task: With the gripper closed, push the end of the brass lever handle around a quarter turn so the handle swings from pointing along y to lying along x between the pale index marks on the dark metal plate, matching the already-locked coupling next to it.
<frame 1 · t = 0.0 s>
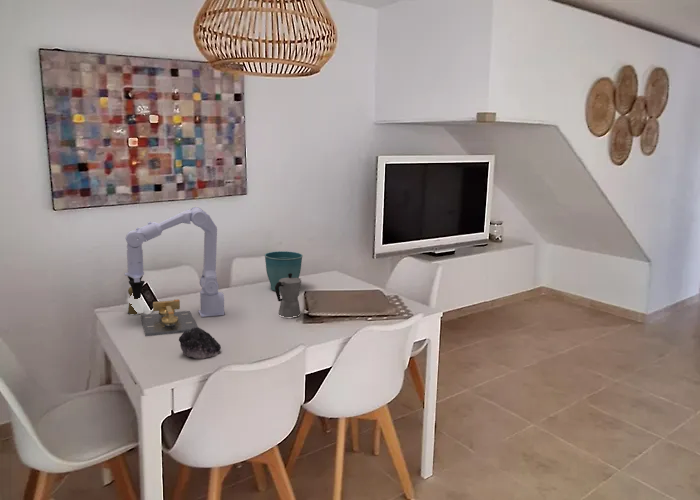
hand: (136, 295, 222), 10 cm above the table, fingers open, 7 cm apart
crystal cluster: (200, 353, 196), on the table
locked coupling: (166, 318, 228), resting on plate
cork: (135, 313, 234), on the table
plate: (168, 323, 222), on the table
coffeepot: (287, 316, 237), on the table
brass lever handle: (169, 315, 217), point 5 cm above the table, hinge at 0.0°
flower pot: (283, 289, 276), on the table
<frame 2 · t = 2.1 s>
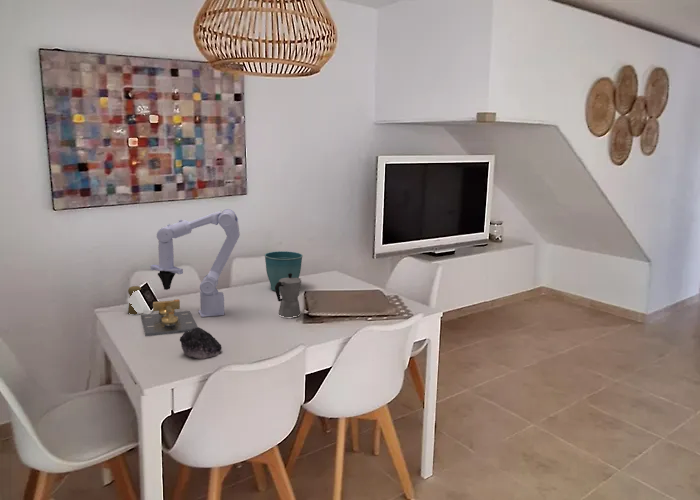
hand: (167, 289, 232), 10 cm above the table, fingers closed
nothing on the table moved.
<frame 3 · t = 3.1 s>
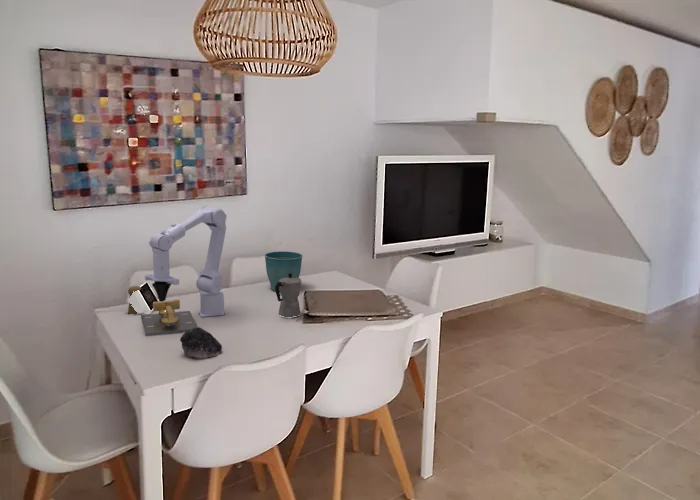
hand: (162, 300, 216), 11 cm above the table, fingers closed
nothing on the table moved.
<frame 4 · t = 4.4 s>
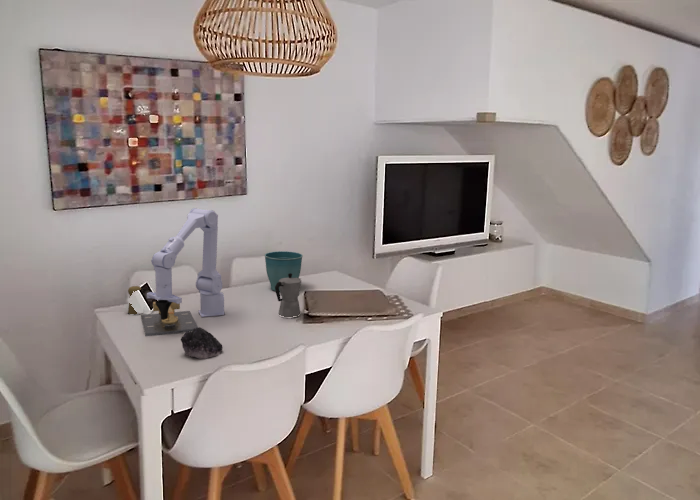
hand: (164, 319, 213), 5 cm above the table, fingers closed, pressing on brass lever handle
brass lever handle: (169, 315, 217), point 5 cm above the table, hinge at 1.0°, touching gripper
everything else where it was.
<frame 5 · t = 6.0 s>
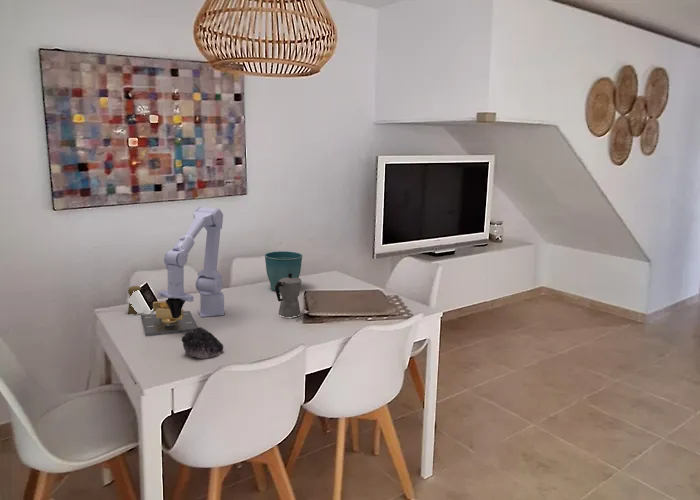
hand: (175, 317, 214), 5 cm above the table, fingers closed
brass lever handle: (169, 315, 217), point 5 cm above the table, hinge at 62.4°, touching gripper
everything else where it was.
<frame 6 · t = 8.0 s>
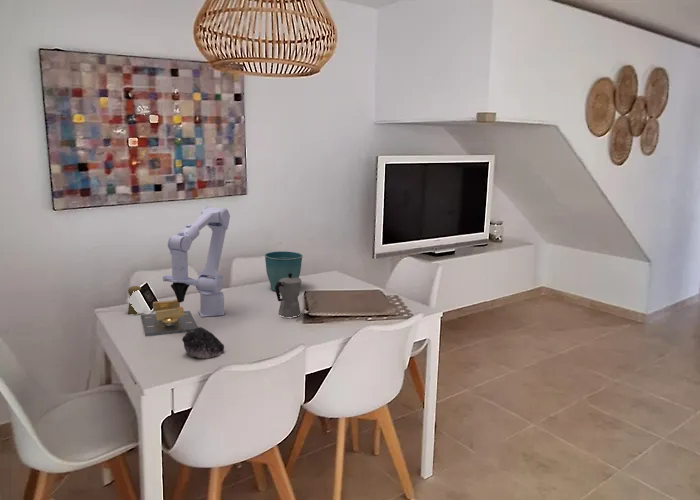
hand: (180, 301, 216), 10 cm above the table, fingers closed
brass lever handle: (169, 315, 217), point 5 cm above the table, hinge at 98.4°
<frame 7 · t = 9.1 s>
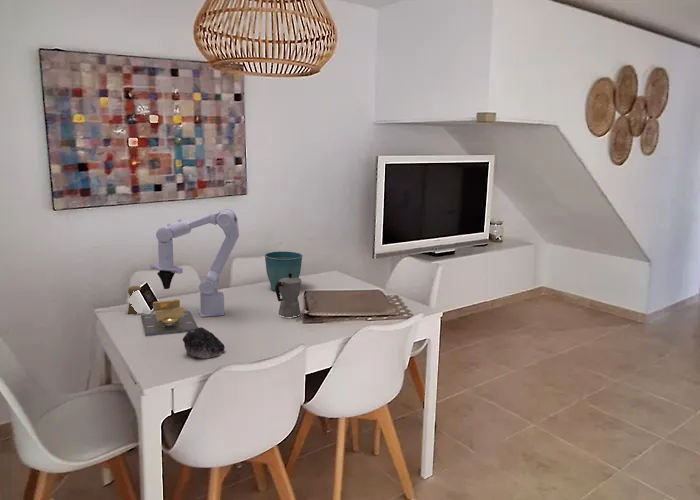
hand: (166, 288, 233), 10 cm above the table, fingers closed
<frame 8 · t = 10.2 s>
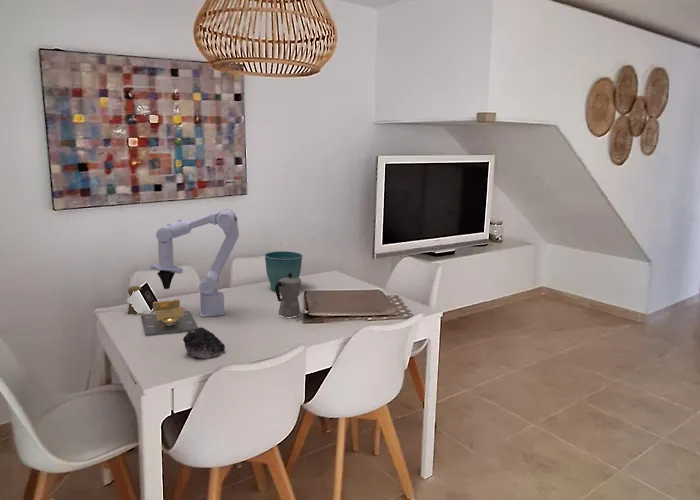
hand: (166, 288, 233), 10 cm above the table, fingers closed
at the end: brass lever handle at +99° (first picture: +0°) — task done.
